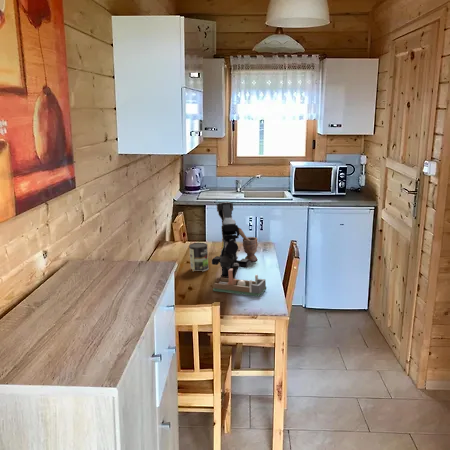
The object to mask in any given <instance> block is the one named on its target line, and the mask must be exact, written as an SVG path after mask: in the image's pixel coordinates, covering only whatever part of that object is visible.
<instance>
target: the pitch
mask: <svg viewBox="0 0 450 450" xmlns="http://www.w3.org/2000/svg"><path fill="white" fill-rule="evenodd" d="M235 279H236V285H229V284H220V283H219V282H218V283H217V282H214V283H213V288H212V291H213V292H220V293H229V294H236V295H243V294H245V295H246V296H254V297H260V296H261V295H262V294H263V293H264V291H266V289H267V286H266V279H265V278H264V279H262V278H259V275H258V274H254V280H252V279H249V280H248V279H247V280H246V279H242V280H243V281H245V286H238V285H237V283H238V281H240V280H241V279H237V278H235ZM219 281H220V282H226V283H228V282H229V278H228V277H220V279H219Z"/></svg>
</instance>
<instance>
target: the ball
mask: <svg viewBox="0 0 450 450" xmlns="http://www.w3.org/2000/svg"><path fill="white" fill-rule="evenodd" d="M239 280H240V281H238V283H237V285H238V286H245V281H243V280H244V279H239Z"/></svg>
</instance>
